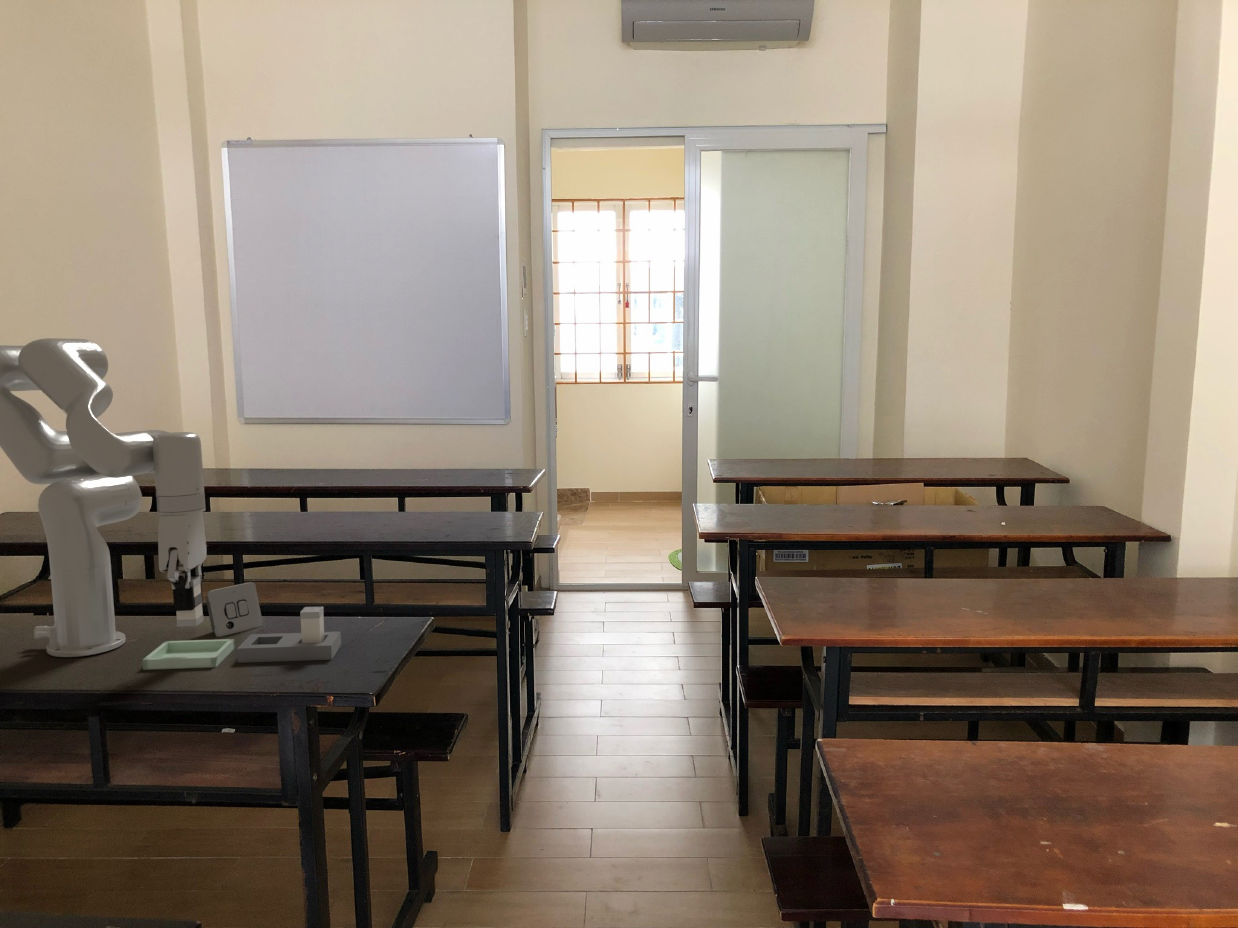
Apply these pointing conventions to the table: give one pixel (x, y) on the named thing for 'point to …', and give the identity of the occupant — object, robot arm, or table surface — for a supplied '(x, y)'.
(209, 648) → the parts tray
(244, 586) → the electrical switch
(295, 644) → the block
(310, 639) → the block
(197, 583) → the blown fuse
